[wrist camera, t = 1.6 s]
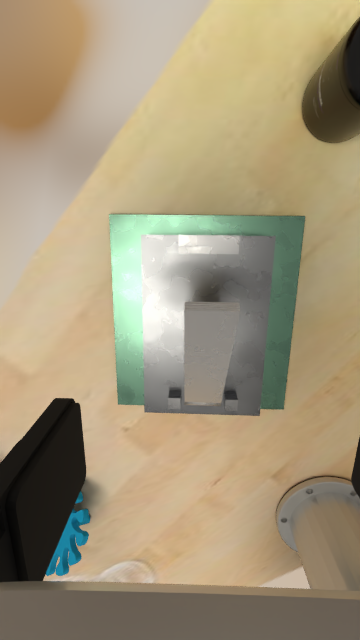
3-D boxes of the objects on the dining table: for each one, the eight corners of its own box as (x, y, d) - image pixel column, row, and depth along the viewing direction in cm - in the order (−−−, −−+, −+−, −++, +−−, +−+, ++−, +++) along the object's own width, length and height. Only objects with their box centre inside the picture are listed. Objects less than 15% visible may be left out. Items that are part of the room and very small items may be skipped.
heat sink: (303, 216, 32) (336, 210, 24) (282, 406, 37) (303, 447, 30) (110, 214, 32) (87, 208, 25) (119, 401, 38) (102, 440, 31)
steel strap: (239, 301, 20) (240, 312, 20) (219, 398, 31) (220, 407, 31) (184, 300, 20) (184, 311, 20) (184, 397, 32) (184, 406, 31)
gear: (74, 471, 39) (85, 567, 34) (107, 468, 44) (121, 552, 38) (19, 499, 42) (21, 590, 37) (55, 494, 47) (61, 574, 42)
